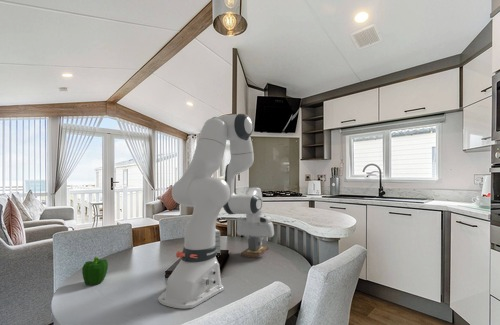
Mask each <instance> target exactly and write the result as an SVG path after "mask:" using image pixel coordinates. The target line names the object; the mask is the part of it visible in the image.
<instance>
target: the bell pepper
mask: <svg viewBox="0 0 500 325" xmlns="http://www.w3.org/2000/svg"><path fill="white" fill-rule="evenodd" d="M108 263H109V262H108V260H107V259H106V258H104V259H102V258H101V259H100V258H99V257H98V256H95V257H94V259H93V261H90V260H87V261H86V262H85V263H84V264H83V266H82V268H81V270H82V279H83V282H84V284H85V285H89V286H90V285H91V286H95V285H96V286H97V285H99V284H101V283H102V282H103V281H104V280H105V278H106V276H107V272H108V266H109V264H108Z"/></svg>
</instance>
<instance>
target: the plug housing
mask: <svg viewBox="0 0 500 325" xmlns="http://www.w3.org/2000/svg"><path fill="white" fill-rule="evenodd" d="M260 240H261V239H260V237H258V236H250V238H249V239H247V241H248V243H247V244H248V246H247V248H248V250H254V251H256V250H257V249H259V248H260V247H261V246H263V244H262V245H258V242H259V241H260Z"/></svg>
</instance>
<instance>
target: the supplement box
mask: <svg viewBox="0 0 500 325" xmlns="http://www.w3.org/2000/svg"><path fill="white" fill-rule="evenodd" d="M215 244H216V245H217V253H220V254H221V231H220V230H219V229H217V228H216V231H215Z"/></svg>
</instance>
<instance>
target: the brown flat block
mask: <svg viewBox="0 0 500 325" xmlns="http://www.w3.org/2000/svg"><path fill="white" fill-rule="evenodd" d="M268 250H269V245H262V246H261V247H260V248H259V249H257V250H256V251H254V250H248V247H247V248H246V249H245V250H242V251H241V252H240V257H245V258H247V257H248V258H254V259H258V258H259V257H260V256H261V255H263V254H264V253H266V252H267V251H268Z"/></svg>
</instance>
